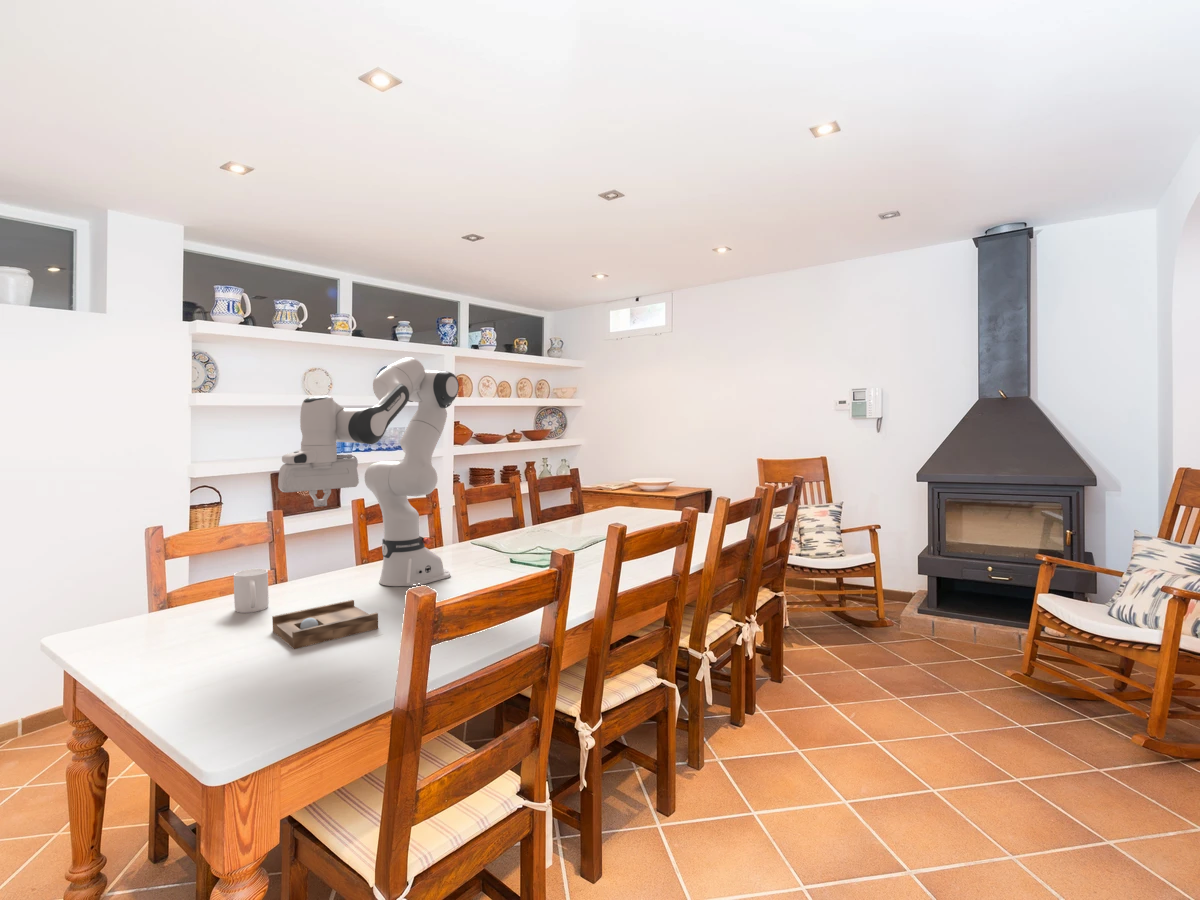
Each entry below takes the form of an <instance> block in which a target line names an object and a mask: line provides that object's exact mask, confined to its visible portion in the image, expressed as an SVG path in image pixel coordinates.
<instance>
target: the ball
mask: <svg viewBox="0 0 1200 900" xmlns="http://www.w3.org/2000/svg"><path fill="white" fill-rule="evenodd" d="M315 626H318V622H317V621H316V620H315V619H314V618H307V619H305V620H303V621H302V623H301V625H300V629H306V628H310V627H315Z"/></svg>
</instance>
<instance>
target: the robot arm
mask: <svg viewBox="0 0 1200 900" xmlns="http://www.w3.org/2000/svg"><path fill="white" fill-rule="evenodd" d="M459 384H460V383H459V381H458V377H456V375H455V374H454V373H453V372H450V371H447V370H436V369H435V370H433V369H425V368H424V365H423V363H422V362H420V361H419V360H418V359H417V358H414V357H409V356H408V357H403V358H401V359H398V360H397V361H395V362H393V363H391V364H389V365H388V366H387V367H385V368H384V369H383V370H381V371H380V372H379V373H378V374H377V375H376V376H375V377H374V379H373V381H372V391H373V394H375V397H376V398H377V400H379V402H377V403H376V404H375V405H374V406H371V407H362V408H351V407H350V408H348V407H347V408H346V407H345V406H342V405H340V404H339V403H337V402H336V401H335V400H334V398H333V396H330V395H318V396H317V395H314V396H309V397H306V398H305V399H303V400H302V404H301V407H300V415H299V423H300V425H299V426H300V428H299V429H300V432H301V442H300V449H298V450H295V451H292V452H289V453H285V454H283V455H282V456H281V461H282V463H283V464H282V465H281V466H280V467H279V471H278V478H277V479H278V481H277V483H278V484H277V487H278V489H279V491H280V492H281V493H297V492H308V494H309V496H310V497H311V499H312V500H313V507H315V508H317V507H327V506H328V499H329V498H330V495H331V494H332V489H333V490H334V489H346V488H347V489H349V488H356V487H357V486H358V485H359V483H360V481H359V473H358V465H359V463H358V462H359V461H358V458H357V457H356V456H355V455H353V454H338V450H337V449H338V447H337V445H338V444H337V442H338V443H353V444H354V443H357V444H358V443H359V444H365V445H374V444H376V443H378V442H379V441H380V440H381V439H382V438H383V437H384V435H385V434H386V431H387V429H388V427H389V425H390V424H391V422H393V421H394V419H395V418H396V417H397V416H398V415H399V414H400V412H402V410H403V409H405V406H406V405H407V404H408V402H410V403H418V406H417V410H416V411H415V412H414V414H413V416H412V417H411V419H410V421H409V423H408V425H407V427H406V428H405V431H404V433H403V435H402V437H401V439H400V442H399V444H400V447H401V449H402V451H403V452H404V453H405V454H404V457H403V459H402V460H400V461H399V460H398V461H397V460H396V461H395V460H383V461H377V462H374V463H373V462H372V464H370V465H368V467H367V468H366V470H365V472H364V483H365V486H366V488H367V489H369V491H371V493H372V494H373V495H374V497H375V499H376V500H377V503H378V504H379V508H380V510H381V515H382V523H383V524H382V525H383V538H382V543H381V544H382V546H381V549H382V550H381V551H382V556H383V560H382V568H381V572H380V573H381V574H380V578H379V581H378V582H379V584H380V585H383V586H389V587H419V586H421V585H426V584H429V583H433V582H437V581H440V580H444V579H448V578H450V577H451V572H450V571H449V570H446V569H445V568H444V564H443V559H441V557H440V556H439V555H437V554H436V553H434V552H433V551H431V550H430V549H429V548H428V547H425V545H429V544H431V542H432V539H431V538H429V537H423V536H420V515H419V514H420V513H419V512H418V510H417V509H416V508H415V507H413V505H411V503H410V501H409V500H408V497H420V496H425V495H426V496H427V495H429V494H431V493H432V492H433V491H434V490H436V489H435V488H436V486H437V484H438V474H437V471H436V470H435V468H434V467H433V463H432V459H433V453H434V451H435V449H436V446H437V444H438V443H439V439H440V438H441V436H442V433H443V430H444V429H445V426H446V421H447V417H448V413H447V408H449V407H450V406H451V405H452V403H453V402H454V400H455V399H456V397H457V395H458V393H459V390H460V389H459V388H460V385H459ZM321 490H322V492H323V493H324V495H323V496H322V498H320V499H319V498H318V497H317V494H318V491H321ZM418 583H420V584H418ZM413 584H416V585H413ZM409 585H411V586H409ZM418 585H419V586H418Z"/></svg>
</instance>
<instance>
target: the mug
mask: <svg viewBox="0 0 1200 900" xmlns="http://www.w3.org/2000/svg"><path fill="white" fill-rule="evenodd" d="M268 573H269V571H268V569H265V568H249V569H244V570H243V569H242V570H240V571H237V572H234V573H233V594H234V595H233V599H234V602H233V603H234V610H235V611H236V612H237V613H239V614H240V613H241V614H250V612H251V613H255V612H260V611H263V610H265V609H267V608H268V607H269V602H270V601H269V598H270V597H269V574H268Z"/></svg>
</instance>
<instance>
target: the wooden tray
mask: <svg viewBox="0 0 1200 900" xmlns="http://www.w3.org/2000/svg"><path fill="white" fill-rule="evenodd" d="M271 616H272V632H273V633H274V634H275V635H276V636H278V637H279V638H280V639H281V640H282V641H284V642H285V643H286V644H287V645H288V646H290V647H291V648H292V649H293V650H298V649H301V648H305V647H309V646H313V645H317V644H321V643H326V642H329V641H333V640H337V639H342V638H344V637H345V638H346V637H350V636H354V635H358V634H362V633H365V632H366V633H367V632H371V631H374V630H378V629H379V613H378V612H372V613H368V612H366V611H364V610H362V609H361V608H359V607H357V606H356V605H355V600H354V599H350V600H349V599H348V600H344V601H340V602H334V603H330V604H323V605H321V606H316V607H310V608H306V609H300V610H297V611H295V610H294V611H291V612H287V613H281V614H277V615H271ZM307 618H314V619H315V620H316V621H317V622H318V626H315V627H310V628H306V629H300V625H301V623H302V621H303V620H305V619H307Z"/></svg>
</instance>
